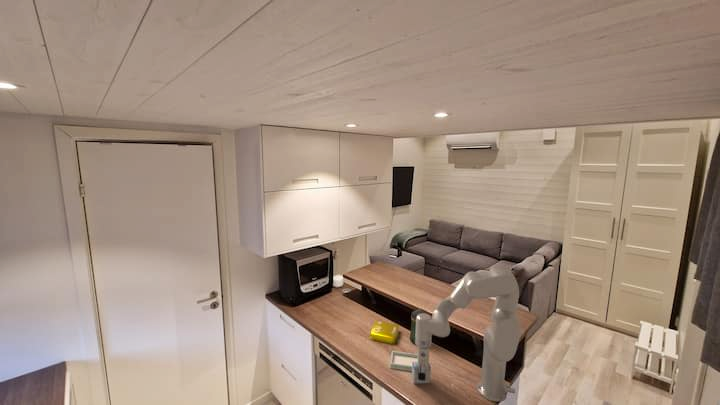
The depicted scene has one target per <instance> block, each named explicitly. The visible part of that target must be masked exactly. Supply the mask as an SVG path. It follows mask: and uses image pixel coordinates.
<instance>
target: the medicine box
mask: <svg viewBox="0 0 720 405" xmlns="http://www.w3.org/2000/svg"><path fill="white" fill-rule="evenodd" d="M431 368H432V367H431V365H430V363H429V365H428V369H427V368H426V367H425V381H423V380H418V371H419V367H418V361H415V362H413V364H412V371H411V379H412V381H413V384H430V383H431V372H432V369H431ZM420 370H421V368H420Z"/></svg>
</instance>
